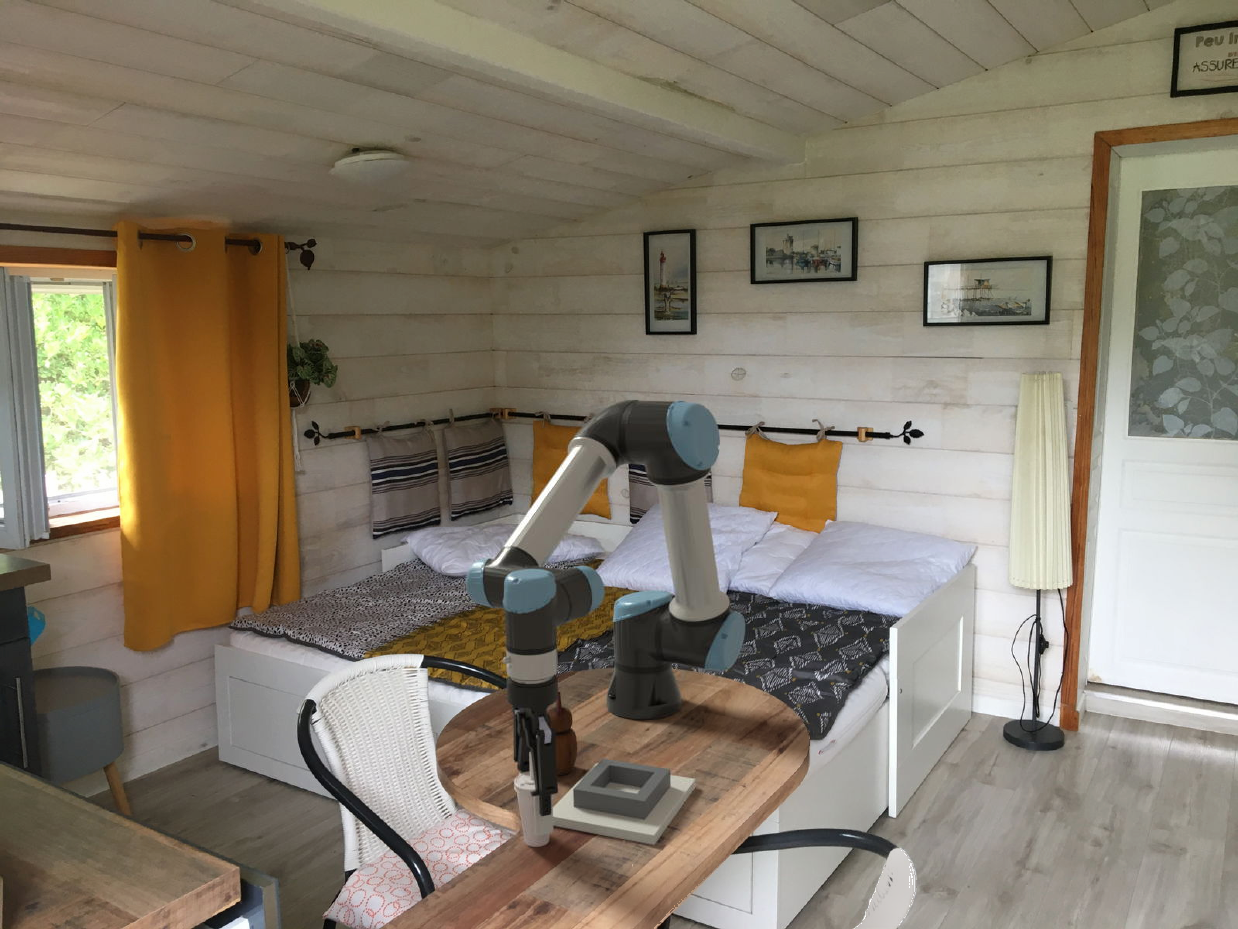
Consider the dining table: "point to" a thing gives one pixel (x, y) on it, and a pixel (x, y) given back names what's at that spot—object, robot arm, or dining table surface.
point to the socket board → (622, 822)
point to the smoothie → (528, 807)
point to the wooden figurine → (563, 737)
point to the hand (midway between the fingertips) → (536, 822)
